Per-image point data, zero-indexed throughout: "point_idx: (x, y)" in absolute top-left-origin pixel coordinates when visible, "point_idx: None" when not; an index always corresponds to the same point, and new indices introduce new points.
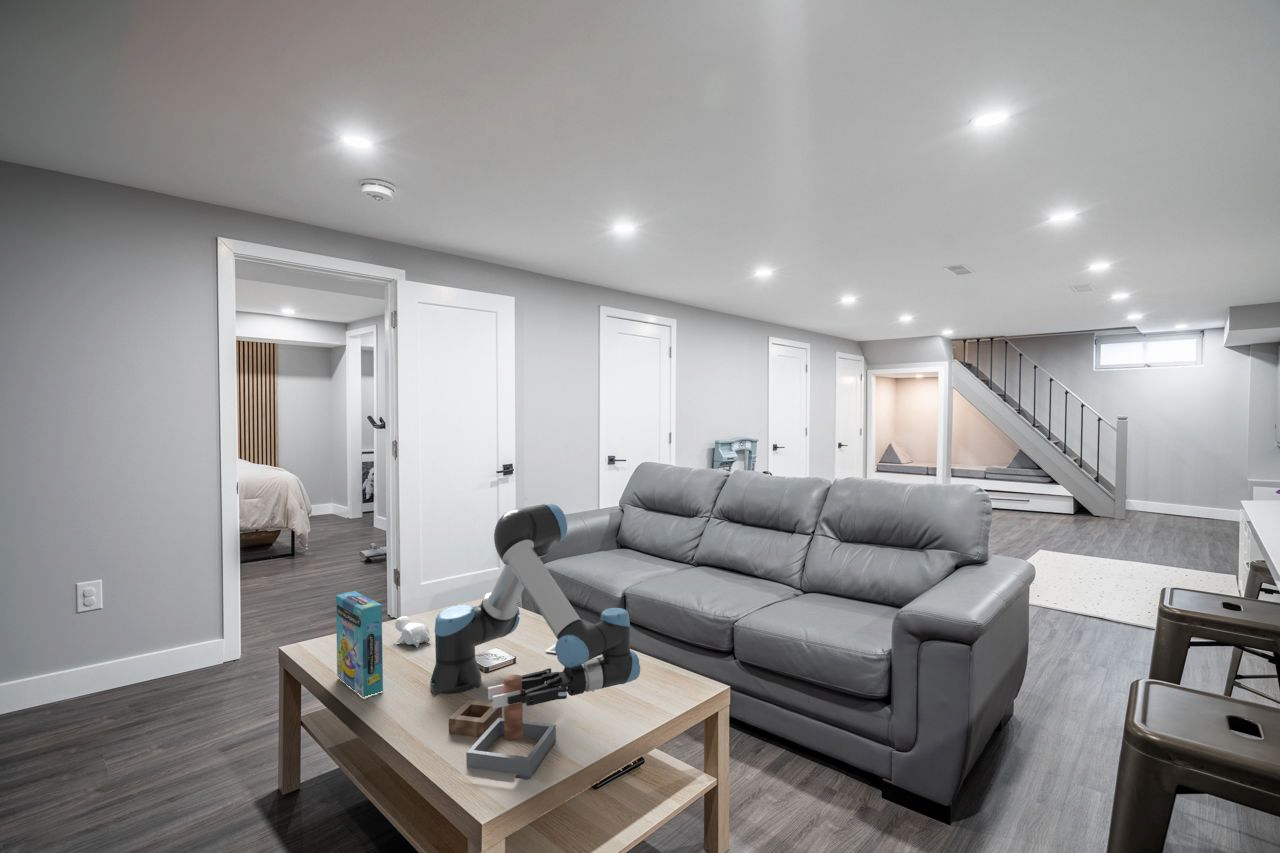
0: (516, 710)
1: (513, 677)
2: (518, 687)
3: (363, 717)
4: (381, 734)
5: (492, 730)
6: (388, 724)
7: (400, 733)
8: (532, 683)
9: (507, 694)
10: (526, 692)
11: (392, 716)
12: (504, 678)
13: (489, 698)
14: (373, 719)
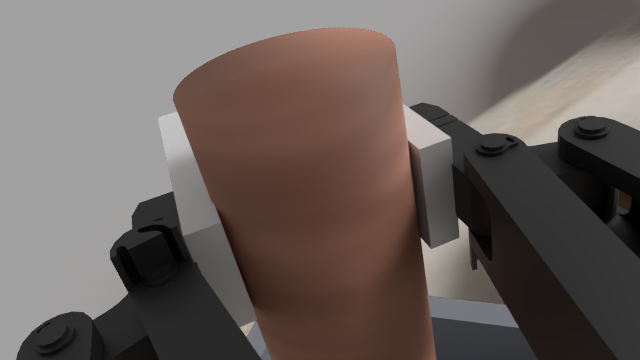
0: (270, 354)
1: (311, 64)
2: (214, 188)
3: (591, 44)
4: (516, 93)
5: (491, 329)
6: (573, 83)
7: (531, 116)
8: (559, 329)
9: (171, 169)
10: (136, 302)
11: (622, 73)
12: (302, 33)
13: None
14: (589, 57)
